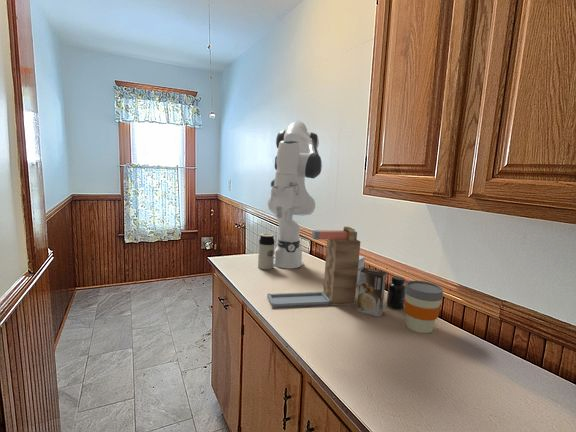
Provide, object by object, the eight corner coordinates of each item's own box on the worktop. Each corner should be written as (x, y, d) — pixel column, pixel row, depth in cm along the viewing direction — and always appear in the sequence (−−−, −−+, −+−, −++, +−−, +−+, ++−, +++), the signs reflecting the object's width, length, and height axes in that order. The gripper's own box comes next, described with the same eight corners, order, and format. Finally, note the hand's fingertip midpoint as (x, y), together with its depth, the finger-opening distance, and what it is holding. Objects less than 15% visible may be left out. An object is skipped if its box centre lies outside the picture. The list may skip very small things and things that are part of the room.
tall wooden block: (322, 295, 140) (328, 225, 135) (344, 294, 142) (350, 225, 138) (331, 305, 130) (337, 230, 126) (354, 303, 133) (361, 230, 128)
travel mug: (255, 265, 174) (257, 232, 172) (269, 264, 178) (271, 232, 175) (261, 270, 167) (262, 236, 165) (275, 269, 171) (277, 235, 168)
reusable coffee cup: (418, 338, 108) (423, 295, 106) (393, 320, 120) (397, 281, 117) (446, 332, 113) (452, 291, 111) (419, 316, 124) (424, 279, 122)
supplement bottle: (405, 311, 129) (408, 281, 127) (387, 308, 130) (390, 279, 128) (402, 304, 135) (405, 276, 134) (385, 301, 137) (388, 274, 135)
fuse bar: (311, 237, 130) (312, 230, 130) (353, 237, 135) (354, 230, 134) (314, 239, 128) (314, 231, 127) (356, 239, 132) (357, 232, 132)
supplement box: (356, 285, 154) (359, 259, 152) (342, 281, 159) (344, 256, 157) (363, 281, 160) (365, 256, 158) (349, 277, 164) (351, 253, 162)
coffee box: (383, 311, 127) (387, 271, 125) (379, 317, 122) (384, 276, 119) (360, 305, 132) (363, 267, 129) (355, 311, 126) (359, 271, 123)
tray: (267, 297, 134) (267, 293, 133) (322, 295, 140) (322, 291, 139) (272, 308, 124) (272, 304, 124) (331, 305, 130) (331, 301, 130)
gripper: (306, 183, 116) (303, 221, 117) (283, 183, 135) (280, 217, 136) (290, 181, 114) (287, 221, 114) (269, 182, 132) (266, 216, 133)
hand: (283, 219), depth 125 cm, fingers open, 8 cm apart
